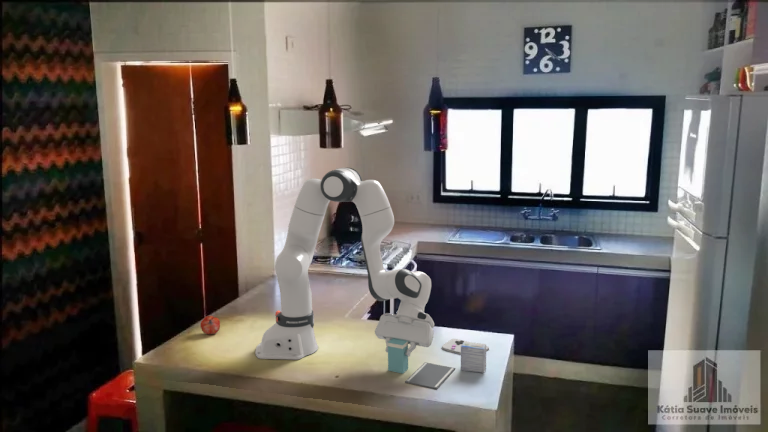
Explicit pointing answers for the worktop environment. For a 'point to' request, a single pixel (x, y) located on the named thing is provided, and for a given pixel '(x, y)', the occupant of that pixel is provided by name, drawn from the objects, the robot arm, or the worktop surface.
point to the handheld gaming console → (455, 346)
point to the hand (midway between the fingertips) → (397, 353)
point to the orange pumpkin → (210, 325)
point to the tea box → (397, 355)
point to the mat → (430, 375)
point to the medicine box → (473, 357)
